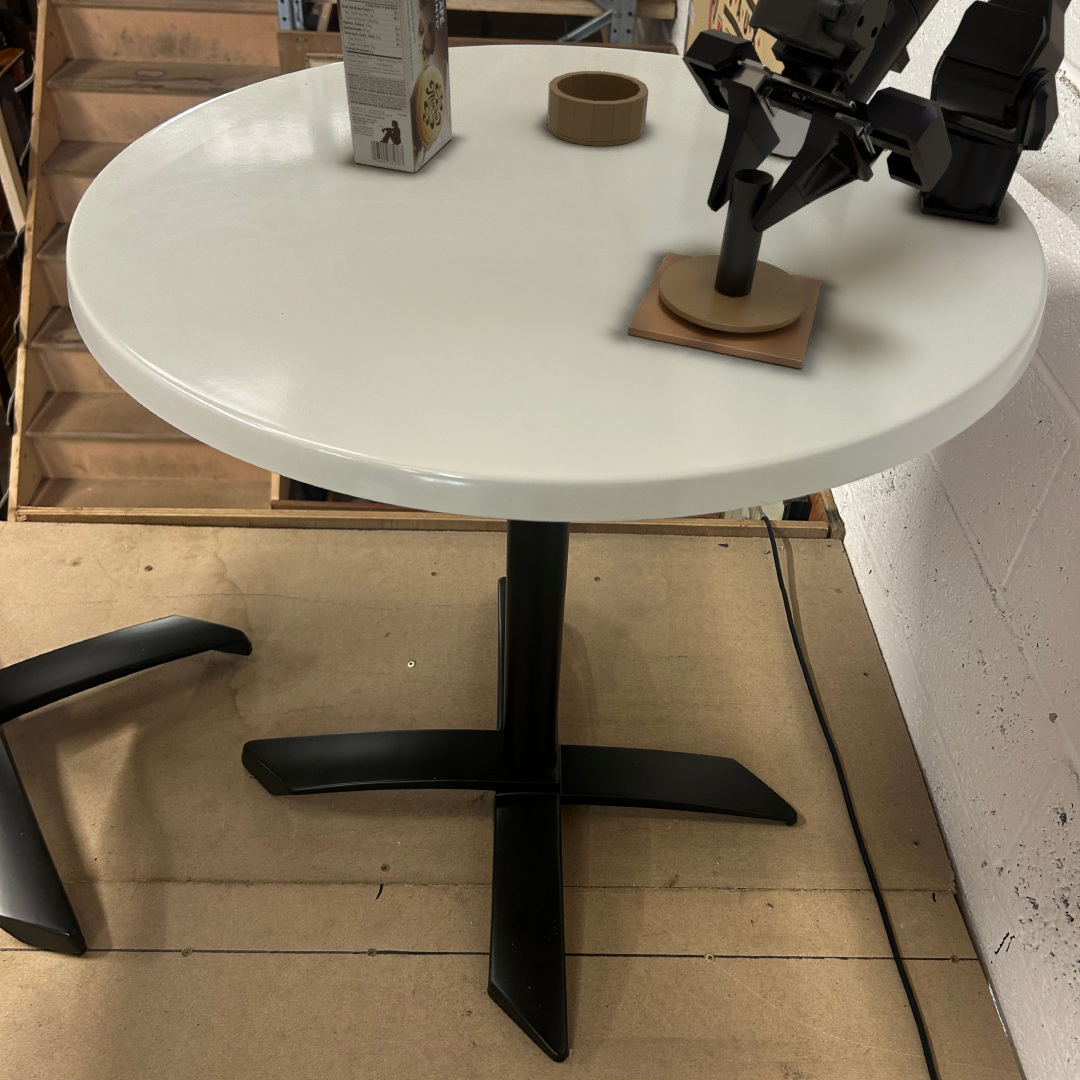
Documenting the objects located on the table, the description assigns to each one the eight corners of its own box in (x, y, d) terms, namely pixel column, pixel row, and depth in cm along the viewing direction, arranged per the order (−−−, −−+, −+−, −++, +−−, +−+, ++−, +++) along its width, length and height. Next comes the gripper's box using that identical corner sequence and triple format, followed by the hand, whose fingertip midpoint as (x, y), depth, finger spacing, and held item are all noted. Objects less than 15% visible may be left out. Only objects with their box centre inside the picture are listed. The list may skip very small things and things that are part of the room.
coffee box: (393, 129, 90) (377, -64, 79) (454, 139, 88) (447, -57, 77) (351, 163, 83) (328, -42, 72) (416, 174, 82) (402, -34, 71)
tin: (653, 119, 94) (657, 78, 91) (629, 152, 87) (633, 109, 85) (564, 105, 96) (566, 65, 93) (534, 137, 89) (535, 95, 87)
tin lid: (711, 254, 71) (732, 134, 65) (830, 302, 66) (864, 177, 60) (628, 301, 65) (642, 175, 59) (751, 358, 61) (780, 226, 54)
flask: (828, 137, 92) (855, 27, 85) (825, 164, 87) (853, 49, 80) (756, 128, 93) (776, 18, 86) (748, 154, 88) (769, 40, 81)
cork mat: (820, 287, 69) (822, 279, 69) (801, 369, 61) (803, 361, 60) (666, 259, 72) (666, 251, 71) (627, 334, 63) (628, 326, 63)
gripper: (725, -118, 57) (580, 104, 59) (998, -61, 46) (810, 204, 49) (780, 7, 66) (653, 194, 68) (1018, 77, 56) (859, 295, 58)
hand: (732, 218), depth 61 cm, fingers open, 3 cm apart
